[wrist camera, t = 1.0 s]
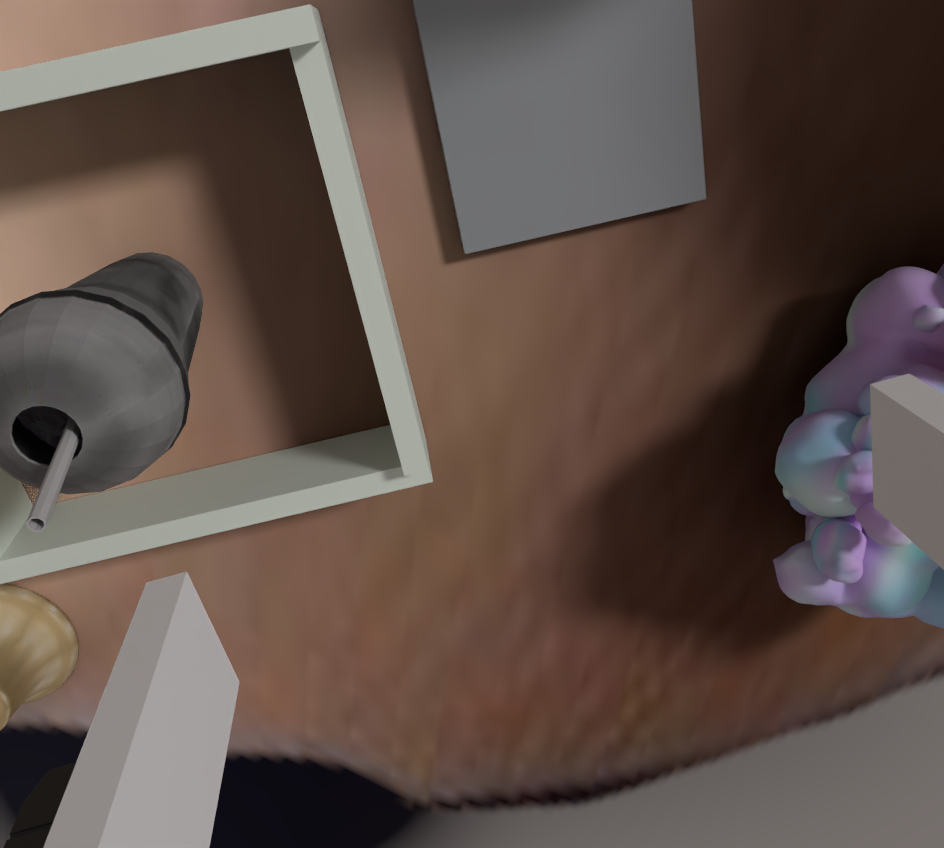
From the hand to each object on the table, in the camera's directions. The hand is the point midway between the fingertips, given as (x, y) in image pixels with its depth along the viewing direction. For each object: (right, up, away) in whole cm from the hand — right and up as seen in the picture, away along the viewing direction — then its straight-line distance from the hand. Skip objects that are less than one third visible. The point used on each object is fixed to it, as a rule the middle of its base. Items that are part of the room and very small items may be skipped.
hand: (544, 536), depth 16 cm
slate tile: (+3, +17, +23) cm, 29 cm away
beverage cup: (-17, +8, +25) cm, 31 cm away
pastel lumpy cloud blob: (+23, +4, +32) cm, 40 cm away
